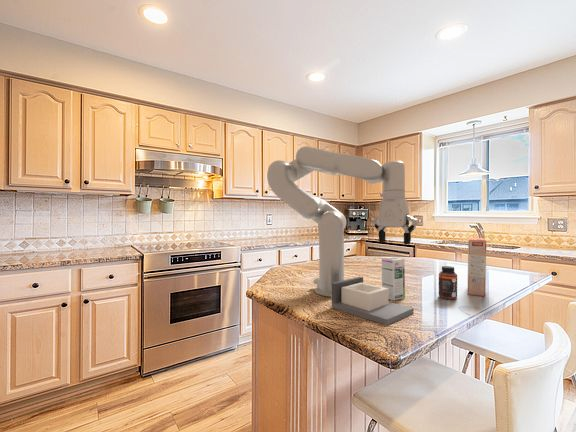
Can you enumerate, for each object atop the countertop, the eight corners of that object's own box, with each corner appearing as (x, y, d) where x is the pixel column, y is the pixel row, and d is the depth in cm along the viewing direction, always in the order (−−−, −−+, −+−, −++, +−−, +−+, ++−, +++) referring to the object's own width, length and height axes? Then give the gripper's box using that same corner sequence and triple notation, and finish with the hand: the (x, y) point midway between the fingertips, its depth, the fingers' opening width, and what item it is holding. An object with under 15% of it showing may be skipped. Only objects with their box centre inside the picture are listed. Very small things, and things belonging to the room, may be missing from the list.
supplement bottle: (459, 300, 104) (460, 268, 104) (441, 299, 105) (441, 268, 105) (453, 296, 110) (454, 265, 110) (436, 295, 111) (436, 265, 111)
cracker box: (486, 297, 108) (487, 240, 108) (467, 295, 111) (467, 239, 111) (485, 289, 120) (485, 237, 120) (467, 287, 123) (468, 236, 123)
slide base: (331, 307, 97) (331, 283, 97) (359, 298, 106) (359, 276, 106) (387, 325, 82) (387, 296, 81) (413, 313, 91) (413, 287, 91)
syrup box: (394, 300, 104) (394, 259, 104) (381, 296, 109) (381, 257, 109) (405, 298, 107) (405, 258, 107) (392, 294, 112) (392, 256, 112)
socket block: (341, 302, 97) (341, 287, 96) (361, 296, 103) (361, 282, 103) (369, 311, 88) (369, 294, 88) (388, 303, 95) (388, 288, 95)
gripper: (367, 196, 112) (367, 242, 112) (411, 194, 98) (412, 245, 99) (378, 197, 116) (379, 240, 117) (422, 194, 103) (422, 244, 103)
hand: (394, 243), depth 108 cm, fingers open, 9 cm apart
